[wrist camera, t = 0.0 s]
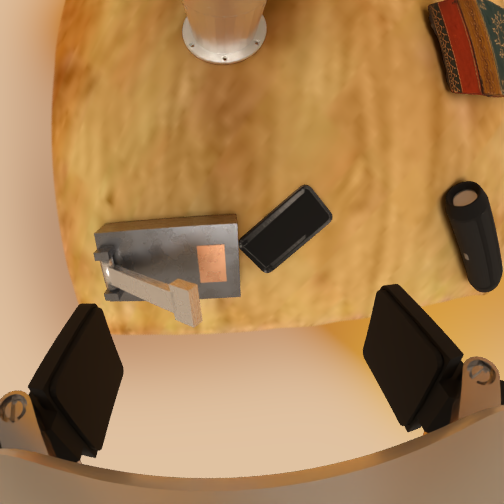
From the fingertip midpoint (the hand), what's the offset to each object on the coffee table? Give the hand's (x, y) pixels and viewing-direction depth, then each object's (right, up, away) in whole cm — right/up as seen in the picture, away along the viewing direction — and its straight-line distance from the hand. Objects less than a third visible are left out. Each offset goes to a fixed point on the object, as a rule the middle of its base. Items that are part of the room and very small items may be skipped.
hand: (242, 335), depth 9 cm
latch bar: (-14, -2, +28) cm, 31 cm away
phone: (+6, +7, +39) cm, 39 cm away
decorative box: (+44, +44, +26) cm, 67 cm away
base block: (-13, +3, +38) cm, 40 cm away
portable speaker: (+48, +7, +42) cm, 64 cm away
